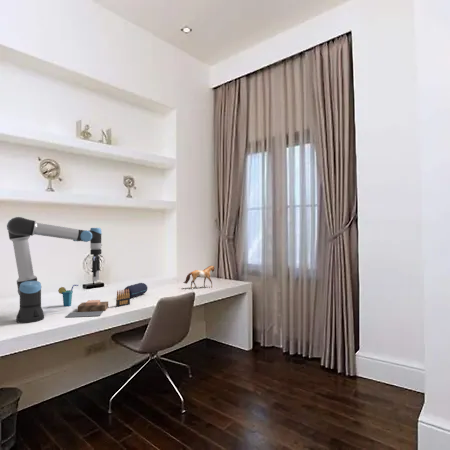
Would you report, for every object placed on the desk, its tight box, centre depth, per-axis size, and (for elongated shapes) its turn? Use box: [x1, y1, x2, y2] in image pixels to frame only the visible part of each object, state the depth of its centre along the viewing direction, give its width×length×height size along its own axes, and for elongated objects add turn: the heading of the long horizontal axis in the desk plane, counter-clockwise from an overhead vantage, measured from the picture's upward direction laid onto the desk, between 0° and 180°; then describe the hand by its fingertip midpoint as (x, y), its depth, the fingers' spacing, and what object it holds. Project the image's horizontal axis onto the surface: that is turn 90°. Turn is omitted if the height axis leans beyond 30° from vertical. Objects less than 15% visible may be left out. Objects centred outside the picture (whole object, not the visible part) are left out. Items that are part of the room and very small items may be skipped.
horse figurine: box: [183, 265, 215, 289], centre depth 323 cm, size 31×8×21 cm, turn 109°
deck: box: [77, 301, 109, 312], centre depth 238 cm, size 18×12×4 cm, turn 99°
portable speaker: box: [123, 282, 148, 299], centre depth 285 cm, size 25×10×10 cm, turn 161°
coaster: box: [86, 299, 101, 306], centre depth 237 cm, size 8×8×2 cm
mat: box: [64, 311, 104, 319], centre depth 224 cm, size 21×12×1 cm, turn 99°
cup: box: [58, 284, 79, 307], centre depth 251 cm, size 14×8×15 cm, turn 134°
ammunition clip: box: [115, 289, 131, 308], centre depth 250 cm, size 11×2×12 cm, turn 140°
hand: (96, 280), depth 247 cm, fingers open, 7 cm apart
